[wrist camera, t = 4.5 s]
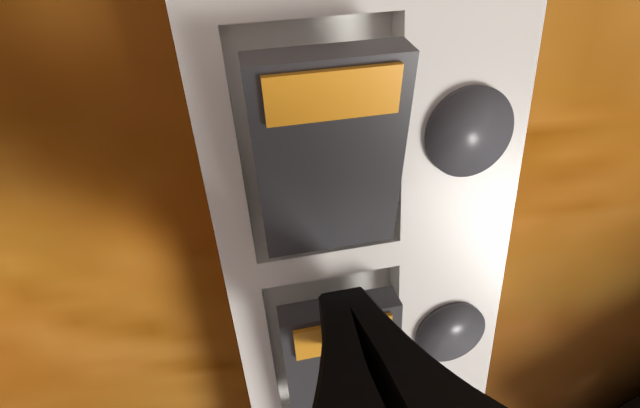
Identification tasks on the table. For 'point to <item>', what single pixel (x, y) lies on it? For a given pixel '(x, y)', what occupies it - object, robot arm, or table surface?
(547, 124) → the table surface
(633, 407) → the black foam roller
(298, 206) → the rocker
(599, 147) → the table surface
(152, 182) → the table surface
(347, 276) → the switch strip
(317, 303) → the middle rocker
